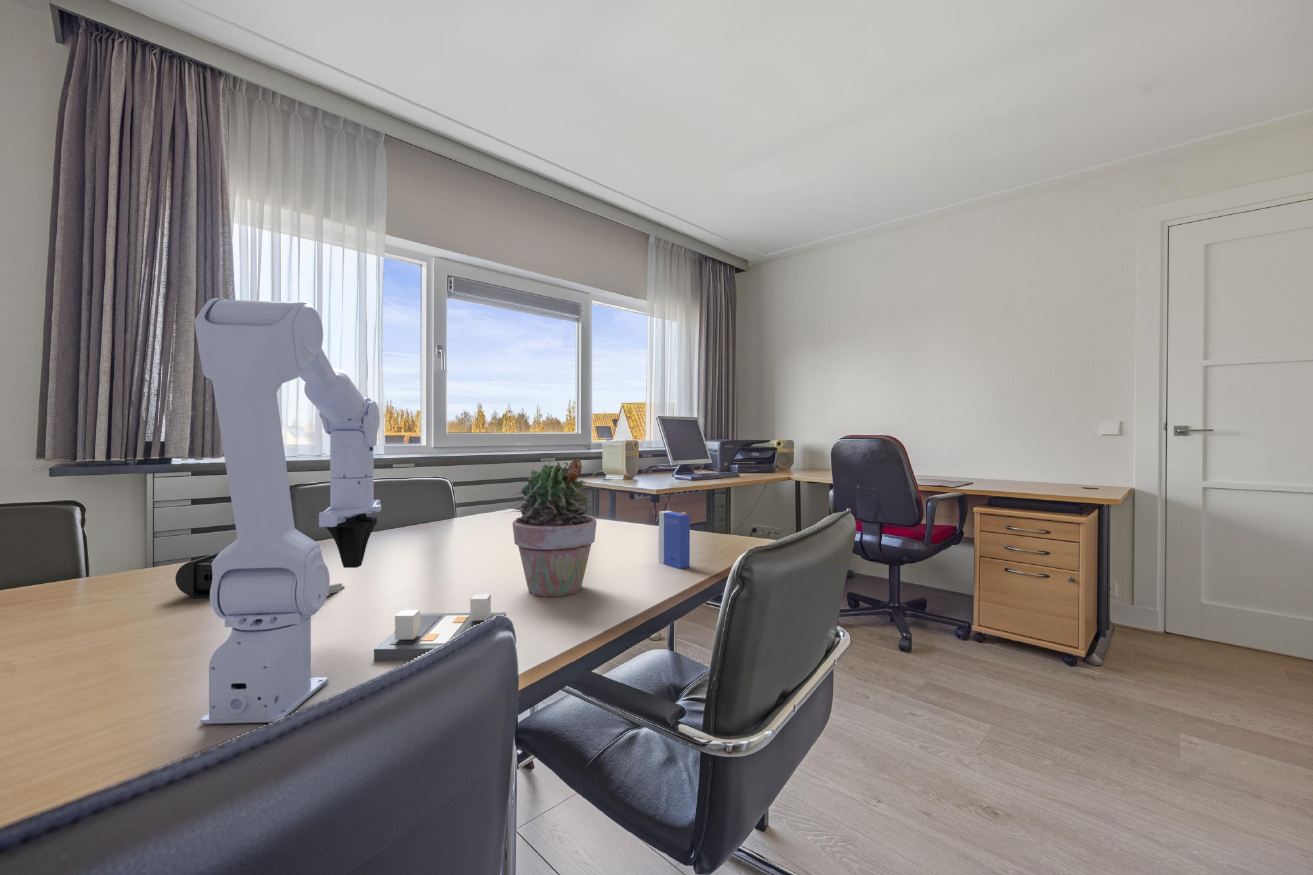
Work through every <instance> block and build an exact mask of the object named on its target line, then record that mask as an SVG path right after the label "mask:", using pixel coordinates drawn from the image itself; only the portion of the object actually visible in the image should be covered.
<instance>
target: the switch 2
mask: <svg viewBox="0 0 1313 875" xmlns="http://www.w3.org/2000/svg"><path fill="white" fill-rule="evenodd" d="M491 599H492V594H491V593H485V594H484V593H475V594H474V595H472V596H471V598H470V600H469V602H470V603H469V604H470V606H469V607H470V612H469V613H470V621H477V620H487V619H488V618H489V617H490V615H491V613H492V603H491V602H492V600H491Z"/></svg>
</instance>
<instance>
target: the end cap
mask: <svg viewBox="0 0 1313 875" xmlns="http://www.w3.org/2000/svg"><path fill="white" fill-rule="evenodd" d="M220 552H221V551H219V552H215V553H213V554H209V555H206V556H204V557H201V558H197V559H193V560H190V561H188V562H186V563H184V564H182V565H181V566H180V567H179V568H178V569H177V571H176V574H175V580H174V581H175V584H176V586H177V588H178V590H179V591H181V593H183V594H185V595H187V596H189V597H190V598H191V599H192V598H193V599H210V589H211V585H212V565H211V564H212V562H213V561H214V559H215V558H216V557H217V555H218V554H219V553H220Z"/></svg>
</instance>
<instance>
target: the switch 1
mask: <svg viewBox="0 0 1313 875" xmlns="http://www.w3.org/2000/svg"><path fill="white" fill-rule="evenodd" d="M420 614H421V610H420V609H402V610H400V611H399V612H397V614H395V615H394V631H395V640H399V639H414V638H415V637H416V636H417V635H418V634H419V633H420Z"/></svg>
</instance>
